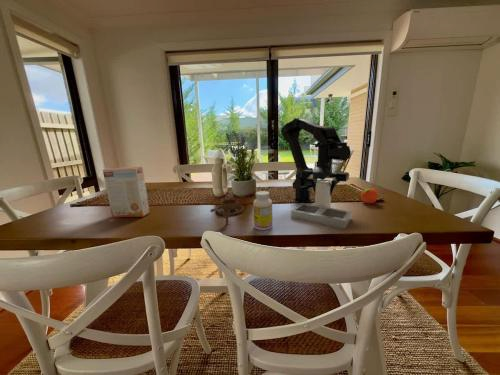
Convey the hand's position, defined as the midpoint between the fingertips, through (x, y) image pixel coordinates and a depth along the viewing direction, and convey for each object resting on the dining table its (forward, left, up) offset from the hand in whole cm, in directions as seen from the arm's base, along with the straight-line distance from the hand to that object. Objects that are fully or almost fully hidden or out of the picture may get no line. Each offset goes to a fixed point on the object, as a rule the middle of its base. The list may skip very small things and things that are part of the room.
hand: (323, 194), depth 94 cm
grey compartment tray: (+3, -12, -6) cm, 14 cm away
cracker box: (-68, -49, -6) cm, 84 cm away
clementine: (+16, +16, -6) cm, 23 cm away
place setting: (-33, -27, -7) cm, 43 cm away
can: (0, 0, -6) cm, 6 cm away
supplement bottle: (-12, -30, -6) cm, 33 cm away
